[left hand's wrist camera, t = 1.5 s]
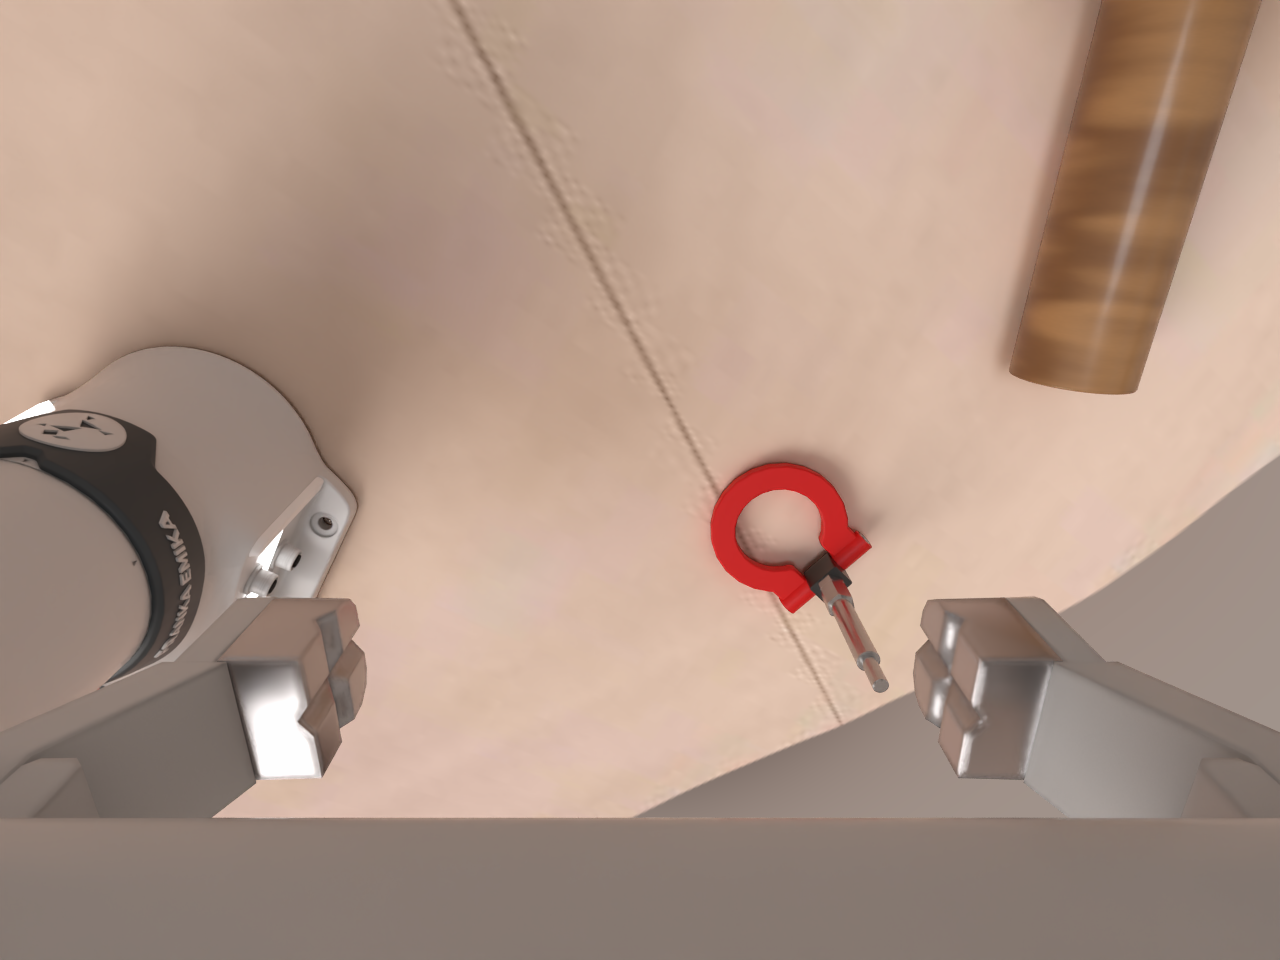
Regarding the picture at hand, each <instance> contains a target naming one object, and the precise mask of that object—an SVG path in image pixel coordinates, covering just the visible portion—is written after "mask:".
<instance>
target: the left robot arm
mask: <svg viewBox="0 0 1280 960" xmlns="http://www.w3.org/2000/svg"><path fill="white" fill-rule="evenodd" d="M356 510H357V502H356V499H355V497H354V495H353V494H352V492H351V491H350V490H349V488H348V487H347V486H346V485H345V484H344V483H343V482H342V481H341V480H340V479H339V478H338V477H337V476H336V475H335V474H334V473H333V472H332V471H331V470H330V469H329V468H328V467H327V466H326V465H325V464H324V462H323V461H322V459H321V457H320V455H319V453H318V451H317V449H316V447H315V445H314V442H313V440H312V438H311V436H310V434H309V432H308V430H307V428H306V426H305V425H304V423H303V421H302V420H301V418H300V417H299V415H298V414H297V413H296V411H295V410H294V408H293V407H292V406H291V405H290V404H289V402H288V401H287V400H286V399H285V398H284V397H283V396H282V395H281V394H280V393H279V392H278V391H277V390H276V389H275V388H274V387H273V386H271V385H270V384H269V383H268V382H267V381H265V380H264V379H263V378H261V377H260V376H259V375H257V374H256V373H254V372H253V371H251V370H249V369H248V368H246V367H244V366H242V365H241V364H239V363H237V362H235V361H232V360H230V359H228V358H225V357H223V356H220V355H217V354H214V353H211V352H208V351H204V350H199V349H194V348H187V347H176V346H165V347H154V348H148V349H143V350H139V351H136V352H133V353H130V354H127V355H125V356H123V357H121V358H119V359H117V360H115V361H114V362H112V363H111V364H109V365H108V366H106V367H105V368H104V369H103V370H101V371H100V372H99V373H98V374H97V375H95V376H94V377H93V378H92V379H90V380H89V381H88V382H86V383H85V384H83V385H82V386H80V387H79V388H77V389H75V390H74V391H72V392H71V393H69V394H68V395H64V396H61V397H57V398H54V399H51V400H48V401H46V402H43V403H41V404H38V405H37V406H35V407H33V408H31V409H29V410H28V411H26V412H24V413H22V414H20V415H19V416H17V417H15V418H13V419H11V420H10V421H8V422H6V423H4V424H1V425H0V960H1280V732H1278V731H1275V730H1273V729H1271V728H1269V727H1266V726H1264V725H1262V724H1259V723H1257V722H1255V721H1252V720H1250V719H1248V718H1246V717H1243V716H1241V715H1239V714H1236V713H1234V712H1232V711H1230V710H1227V709H1225V708H1223V707H1220V706H1218V705H1216V704H1213V703H1211V702H1209V701H1207V700H1204V699H1202V698H1200V697H1197V696H1195V695H1193V694H1191V693H1188V692H1186V691H1184V690H1181V689H1179V688H1177V687H1175V686H1172V685H1170V684H1168V683H1165V682H1163V681H1161V680H1158V679H1156V678H1154V677H1152V676H1149V675H1147V674H1145V673H1142V672H1140V671H1138V670H1135V669H1133V668H1131V667H1129V666H1126V665H1124V664H1122V663H1119V662H1106V661H1105V660H1104V659H1103V658H1102V657H1101V656H1100V655H1099V654H1098V653H1097V652H1096V651H1095V650H1094V649H1093V648H1092V647H1091V646H1090V645H1089V644H1088V643H1087V642H1086V641H1085V640H1084V639H1083V638H1082V637H1081V636H1080V635H1079V634H1078V633H1077V632H1076V631H1075V630H1074V629H1073V628H1072V627H1071V626H1070V625H1069V624H1068V623H1067V622H1066V621H1065V620H1064V619H1063V618H1062V617H1061V616H1060V615H1059V614H1058V613H1057V612H1055V611H1054V610H1053V609H1052V608H1051V607H1050V606H1049V605H1048V604H1047V603H1046V602H1045V601H1044V600H1043V599H1040V598H1037V597H1010V598H968V599H934V600H928V601H927V603H926V605H925V607H924V609H923V613H922V618H921V624H920V626H921V628H922V630H923V631H924V633H925V634H926V636H927V637H928V639H929V640H928V641H927V642H926V643H925V644H924V645H923V646H922V647H921V648H920V649H919V650H918V651H917V652H916V654H915V662H914V670H913V677H914V689H915V694H916V698H917V701H918V704H919V707H920V709H921V711H922V713H923V715H924V717H925V719H926V720H928V721H930V722H931V723H933V724H934V725H936V726H937V727H939V728H940V734H939V740H938V743H939V744H940V746H941V748H942V750H943V751H944V753H945V755H946V757H947V759H948V760H949V762H950V764H951V766H952V768H953V770H954V771H955V773H956V775H957V777H958V778H976V779H1013V780H1024V783H1025V784H1026V785H1027V786H1029V787H1030V788H1031V789H1032V790H1034V791H1035V792H1036V793H1038V794H1039V795H1040V796H1041V797H1043V798H1044V799H1045V800H1047V801H1048V802H1049V803H1050V804H1052V805H1053V806H1054V807H1056V808H1057V809H1058V810H1060V811H1061V812H1062V813H1063V814H1065V815H1066V816H1067V817H1069V818H212V817H213V816H214V815H216V814H217V813H218V812H219V811H221V810H222V809H223V808H225V807H226V806H227V805H229V804H230V803H231V802H232V801H234V800H235V799H236V798H238V797H239V796H240V795H241V794H243V793H244V792H245V791H247V790H248V789H249V788H250V787H252V786H253V785H254V784H256V780H267V779H302V778H322V777H323V775H324V773H325V771H326V770H327V768H328V766H329V764H330V762H331V761H332V759H333V757H334V755H335V753H336V752H337V750H338V748H339V746H340V744H341V743H342V740H341V734H340V728H341V727H343V726H344V725H346V724H347V723H349V722H350V721H352V720H354V719H355V717H356V715H357V713H358V711H359V709H360V707H361V705H362V701H363V697H364V693H365V688H366V673H367V667H366V661H365V654H364V652H363V651H362V650H361V649H360V648H359V647H358V646H357V645H356V644H355V643H354V642H353V641H352V640H351V639H352V637H353V636H354V634H355V633H356V631H357V630H358V628H359V626H360V624H359V619H358V614H357V609H356V605H355V604H354V603H353V602H352V601H351V600H350V599H341V598H316V597H317V595H318V593H319V590H320V588H321V586H322V584H323V582H324V580H325V578H326V576H327V573H328V571H329V569H330V567H331V565H332V563H333V561H334V559H335V556H336V554H337V552H338V550H339V548H340V546H341V544H342V541H343V539H344V537H345V535H346V533H347V531H348V529H349V527H350V524H351V522H352V520H353V518H354V516H355V514H356ZM323 517H327V518H329V519H330V520H331V521H332V525H328V524H326V523H325V522H324V521H323Z"/></svg>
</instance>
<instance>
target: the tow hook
mask: <svg viewBox="0 0 1280 960" xmlns="http://www.w3.org/2000/svg"><path fill="white" fill-rule="evenodd" d="M784 489H786V490H791V491H796V492H798V493H800V494H803V495H805V496H807V497H808V498H809V499H810V500H811V501H812V502H813V503H815V505H816V506H817V508H818V509H819V512H820V516H821V532H820V536H819V541H820V543H821V545H822V546H823V547H824V548H825V549H826V550H827V551H828V552H829V553H826V554H825V555H824V556H823V557H822V558H820V559H819V560H818V561H817V562H816V563H815V564H813V565H812V566H811V567H810V568H809V569H808V570H806V571H805V572H804V575H803V574H802V573H801V572H799V571H798V570H797V569H796V568H795V567H794V566H793V565H785V566H767V565H762V564H760V563H757V562H755V561H753V560H751V559H750V558H749V557H748V556H747V555H745V554H744V553H743V551H742V550H741V549H740V547H739V546H738V544H737V541H736V535H735V527H736V523H737V520H738V517H739V515H740V513H741V512H742V510H743V508H744V507H745V506H746V505H747V504H748V503H749V502H750V501H751V500H752V499H754V498H755V497H757V496H759V495H760V494H762V493H765V492H769V491H772V490H784ZM711 541H712V545H713V548H714V551H715V554H716V557H717V559H718V560H719V562H720V563H721V564H722V566H723V567H724V569H725V570H726V571H727V572H728V573H729V574H730V575H731V576H733V577H734V578H735V579H736V580H737V581H739V582H741V583H743V584H745V585H747V586H749V587H752V588H754V589H759V590H764V591H769V592H774V593H775V594H776V595H777V596H778V597H779V599H780V601H781V603H782V604H783V606H784V607H785V608H786V609H787V610H788V611H790V612H791V613H795V612H796V611H797V610H798V609H799V608H800V607H802V606H803V605H804V604H805V603H806V602H808V601H809V600H810V599H811V598H812V597H813V596H815V595H817V596H818V597H819V598H820V599H821V600H822V601H823V602H824V603H825V605H826V607H827V610H828V612H829V614H830V615H832V616H834V617H835V619H836V621H837V623H838V625H839V627H840V629H841V631H842V634H843V636H844V638H845V640H846V642H847V644H848V646H849V649H850V651H851V653H852V655H853V657H854V659H855V661H856V664H857V666H858V667H859V668H860V669H861V670H863V671H865V673H866V675H867V677H868V679H869V681H870V683H871V685H872V687H873V689H874V691H876V692H879V693H881V692H884V691H886V690H887V689H888V687H889V683H888V681H887V679H886V677H885V675H884V674H883V672H882V670H881V668H880V666H879V664H880V657H879V655H878V653H877V651H876V649H875V647H874V645H873V644H872V642H871V640H870V638H869V636H868V634H867V632H866V630H865V628H864V626H863V625H862V623H861V621H860V619H859V617H858V615H857V613H856V611H855V609H854V603H853V599H852V596H851V594H850V592H849V590H848V589H847V587H848V586H850V585H851V584H852V582H851V580H850V578H849V576H848V574H847V573H846V571H845V569H847V568H848V567H849V566H850V565H851V564H853V563H854V562H855V561H856V560H857V559H859V558H860V557H861V556H862V555H863V554H864V553H866V552H867V551H868V550H869V549H870V548H872V546H871V544H870V543H869V541H868V540H867V539H866V538H865V537H864V536H863V535H862V534H861V533H860V532H858V531H855V532H853V531H852V530H851V529H850V528H849V527H848V517H847V514H846V510H845V506H844V503H843V501H842V499H841V498H840V496H839V495H838V493H837V491H836V490H835V488H834V487H833V485H832V484H830V483H829V482H828V481H827V480H826V479H825V478H824V477H823V476H822V475H820V474H819V473H817V472H815V471H813V470H811V469H809V468H807V467H804V466H800V465H795V464H789V463H777V464H767V465H764V466H760V467H757V468H754V469H751V470H749V471H748V472H746V473H744V474H743V475H741V476H739V477H738V478H736V479H735V480H734V481H733V482H732V483H731V484H730V485H729V486H728V487H727V488H726V489H725V490H724V491H723V492H722V494H721V496H720V498H719V499H718V501H717V503H716V505H715V507H714V511H713V515H712V519H711Z"/></svg>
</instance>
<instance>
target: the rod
mask: <svg viewBox="0 0 1280 960" xmlns="http://www.w3.org/2000/svg"><path fill="white" fill-rule="evenodd" d="M1261 1H1262V0H1102V3H1101V7H1100V11H1099V15H1098V19H1097V23H1096V27H1095V31H1094V34H1093V38H1092V42H1091V46H1090V50H1089V54H1088V58H1087V62H1086V66H1085V70H1084V74H1083V78H1082V82H1081V86H1080V90H1079V94H1078V98H1077V102H1076V106H1075V110H1074V114H1073V118H1072V122H1071V126H1070V130H1069V134H1068V138H1067V142H1066V146H1065V150H1064V154H1063V158H1062V162H1061V166H1060V170H1059V174H1058V178H1057V181H1056V185H1055V189H1054V193H1053V197H1052V201H1051V205H1050V209H1049V213H1048V217H1047V221H1046V225H1045V229H1044V233H1043V237H1042V241H1041V245H1040V249H1039V253H1038V257H1037V261H1036V265H1035V269H1034V273H1033V277H1032V281H1031V285H1030V289H1029V293H1028V297H1027V301H1026V305H1025V309H1024V313H1023V317H1022V321H1021V325H1020V328H1019V332H1018V336H1017V340H1016V344H1015V348H1014V352H1013V356H1012V360H1011V364H1010V368H1009V372H1010V373H1011V374H1012V375H1014V376H1016V377H1018V378H1020V379H1023V380H1026V381H1029V382H1033V383H1036V384H1040V385H1045V386H1049V387H1054V388H1059V389H1065V390H1071V391H1078V392H1086V393H1095V394H1115V395H1118V394H1130V393H1134V392H1135V391H1136V390H1137V389H1138V386H1139V382H1140V379H1141V376H1142V373H1143V370H1144V367H1145V364H1146V361H1147V357H1148V354H1149V351H1150V348H1151V345H1152V342H1153V339H1154V336H1155V332H1156V329H1157V326H1158V323H1159V320H1160V317H1161V314H1162V311H1163V307H1164V304H1165V301H1166V298H1167V295H1168V292H1169V289H1170V286H1171V282H1172V279H1173V276H1174V273H1175V270H1176V267H1177V264H1178V261H1179V257H1180V254H1181V251H1182V248H1183V245H1184V242H1185V239H1186V236H1187V232H1188V229H1189V226H1190V223H1191V220H1192V217H1193V214H1194V211H1195V207H1196V204H1197V201H1198V198H1199V195H1200V192H1201V189H1202V186H1203V182H1204V179H1205V176H1206V173H1207V170H1208V167H1209V164H1210V161H1211V157H1212V154H1213V151H1214V148H1215V145H1216V142H1217V139H1218V136H1219V133H1220V129H1221V126H1222V123H1223V120H1224V117H1225V114H1226V111H1227V108H1228V104H1229V101H1230V98H1231V95H1232V92H1233V89H1234V86H1235V83H1236V79H1237V76H1238V73H1239V70H1240V67H1241V64H1242V61H1243V58H1244V54H1245V51H1246V48H1247V45H1248V42H1249V39H1250V36H1251V33H1252V29H1253V26H1254V23H1255V20H1256V17H1257V14H1258V11H1259V8H1260V4H1261Z"/></svg>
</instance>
